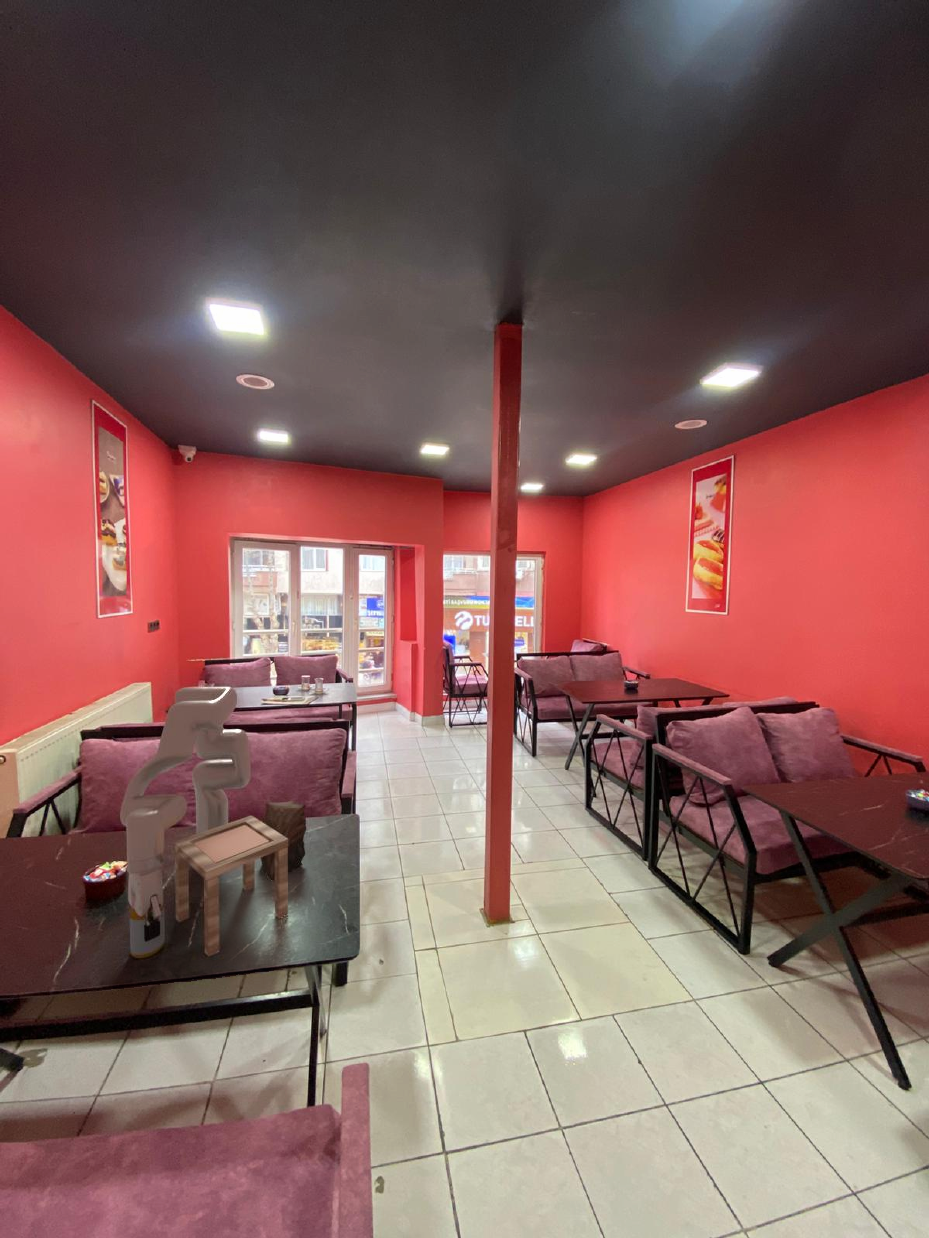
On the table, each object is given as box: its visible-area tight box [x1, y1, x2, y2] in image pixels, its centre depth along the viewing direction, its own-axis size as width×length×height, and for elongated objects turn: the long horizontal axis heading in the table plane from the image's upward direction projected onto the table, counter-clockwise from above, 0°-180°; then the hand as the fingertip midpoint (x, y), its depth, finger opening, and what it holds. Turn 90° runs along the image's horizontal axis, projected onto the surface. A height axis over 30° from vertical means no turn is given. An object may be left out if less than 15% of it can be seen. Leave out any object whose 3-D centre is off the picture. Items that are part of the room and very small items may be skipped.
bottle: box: [129, 894, 166, 959], centre depth 116 cm, size 7×7×15 cm
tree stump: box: [260, 800, 307, 882], centre depth 153 cm, size 13×13×20 cm
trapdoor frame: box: [173, 815, 289, 957], centre depth 128 cm, size 21×21×21 cm
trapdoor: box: [193, 825, 269, 863], centre depth 128 cm, size 14×14×1 cm
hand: (147, 930), depth 116 cm, fingers closed on bottle, 6 cm apart
